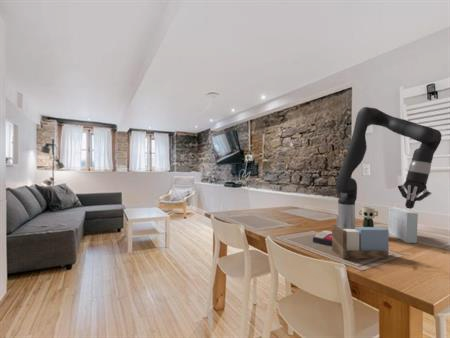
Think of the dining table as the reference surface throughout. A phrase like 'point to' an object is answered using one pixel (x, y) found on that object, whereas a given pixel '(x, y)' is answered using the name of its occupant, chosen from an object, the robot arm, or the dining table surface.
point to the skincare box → (403, 224)
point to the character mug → (368, 216)
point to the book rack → (341, 249)
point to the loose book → (373, 239)
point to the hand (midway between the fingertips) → (408, 208)
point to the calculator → (323, 238)
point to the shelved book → (352, 240)
